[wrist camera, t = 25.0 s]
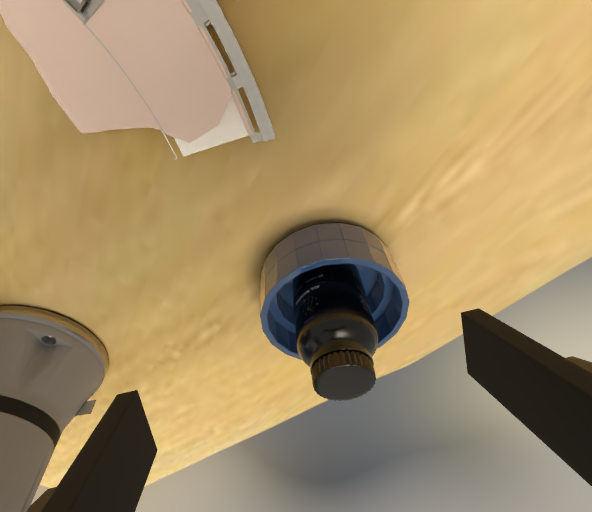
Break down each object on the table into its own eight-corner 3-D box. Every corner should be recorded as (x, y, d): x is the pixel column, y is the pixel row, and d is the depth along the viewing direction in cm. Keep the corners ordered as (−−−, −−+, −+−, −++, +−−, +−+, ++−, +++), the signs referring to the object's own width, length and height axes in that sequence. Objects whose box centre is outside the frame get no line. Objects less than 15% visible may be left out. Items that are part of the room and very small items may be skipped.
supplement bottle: (295, 249, 35) (307, 353, 25) (366, 253, 36) (403, 355, 26) (287, 301, 39) (294, 408, 29) (350, 304, 40) (377, 409, 30)
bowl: (268, 322, 42) (268, 368, 37) (253, 224, 34) (252, 265, 29) (384, 312, 42) (399, 356, 37) (397, 212, 34) (419, 251, 29)
